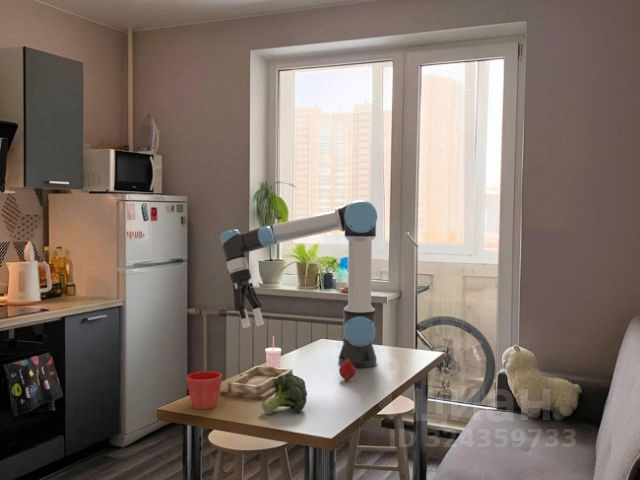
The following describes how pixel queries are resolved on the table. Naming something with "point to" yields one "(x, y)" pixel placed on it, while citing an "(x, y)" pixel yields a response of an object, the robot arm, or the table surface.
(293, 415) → the table surface
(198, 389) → the flower pot
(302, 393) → the vegetable
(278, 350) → the beverage cup
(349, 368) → the pomegranate
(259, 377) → the light brown wooden tray
